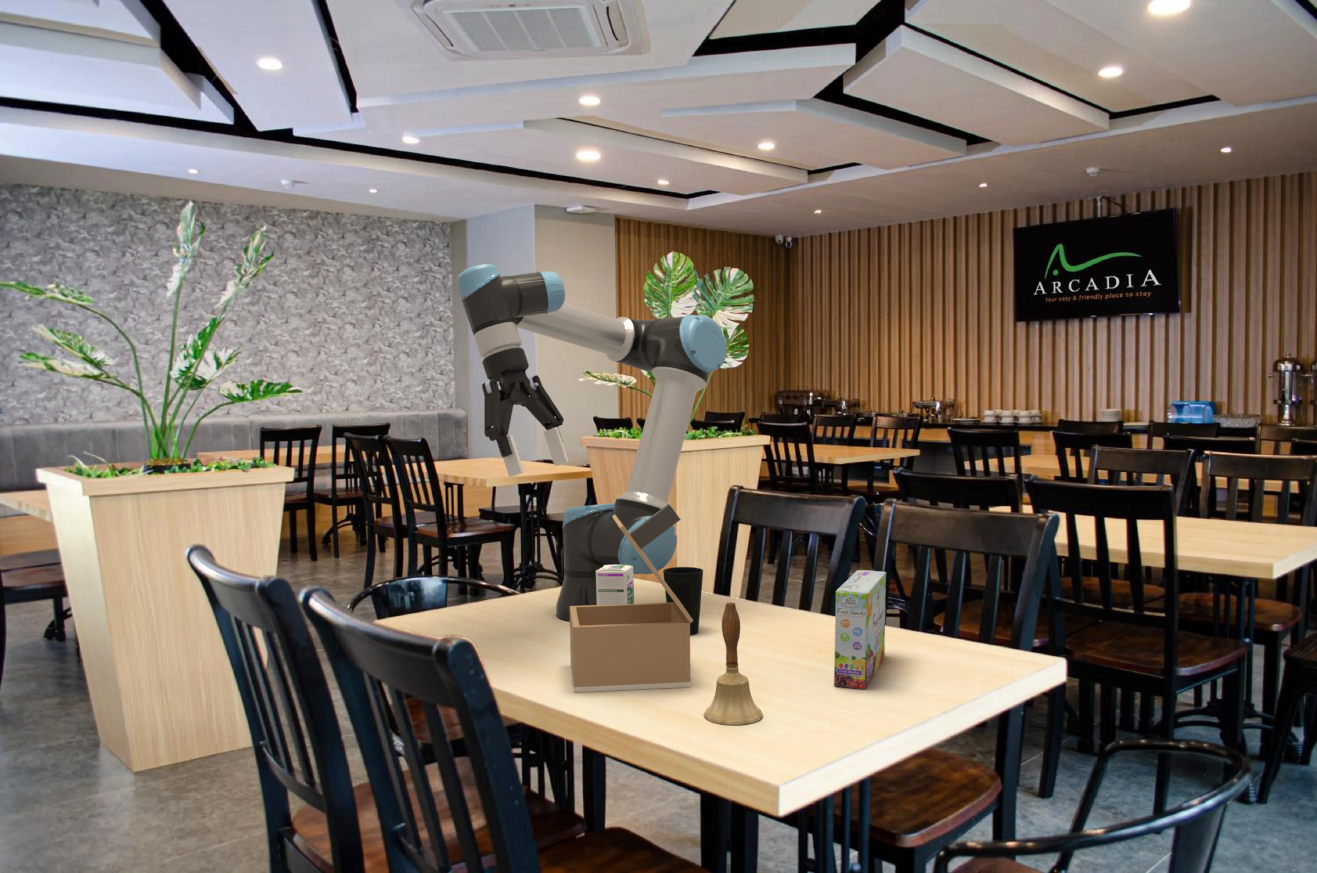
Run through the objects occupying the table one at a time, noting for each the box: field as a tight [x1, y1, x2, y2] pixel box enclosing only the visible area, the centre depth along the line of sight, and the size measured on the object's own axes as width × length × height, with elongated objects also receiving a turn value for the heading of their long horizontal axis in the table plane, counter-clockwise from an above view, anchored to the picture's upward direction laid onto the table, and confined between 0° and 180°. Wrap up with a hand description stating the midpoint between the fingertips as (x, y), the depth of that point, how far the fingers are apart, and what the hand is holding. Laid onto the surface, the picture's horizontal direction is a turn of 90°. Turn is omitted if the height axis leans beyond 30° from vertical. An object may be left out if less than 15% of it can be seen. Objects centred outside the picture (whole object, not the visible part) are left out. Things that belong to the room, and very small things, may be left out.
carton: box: [569, 602, 692, 693], centre depth 159 cm, size 18×16×10 cm
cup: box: [662, 566, 704, 636], centre depth 188 cm, size 8×8×12 cm
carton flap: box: [612, 503, 693, 623], centre depth 159 cm, size 18×16×9 cm
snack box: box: [833, 569, 887, 690], centre depth 160 cm, size 21×6×15 cm, turn 160°
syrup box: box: [596, 564, 635, 605], centre depth 178 cm, size 6×6×14 cm
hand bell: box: [703, 602, 764, 726], centre depth 138 cm, size 8×8×16 cm
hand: (540, 469), depth 170 cm, fingers open, 13 cm apart
